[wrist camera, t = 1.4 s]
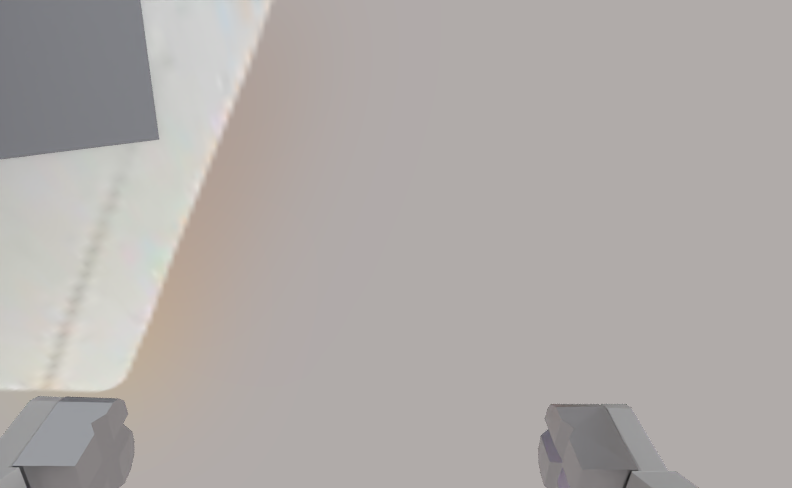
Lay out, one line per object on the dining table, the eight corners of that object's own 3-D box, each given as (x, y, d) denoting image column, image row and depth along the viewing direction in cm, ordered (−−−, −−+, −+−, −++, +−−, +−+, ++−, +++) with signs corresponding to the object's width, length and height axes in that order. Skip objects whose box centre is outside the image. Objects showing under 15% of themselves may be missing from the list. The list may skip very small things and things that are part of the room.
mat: (-77, 166, 42) (-77, 168, 42) (-199, -189, 32) (-200, -191, 32) (156, 137, 52) (159, 139, 52) (119, -139, 42) (121, -140, 42)
